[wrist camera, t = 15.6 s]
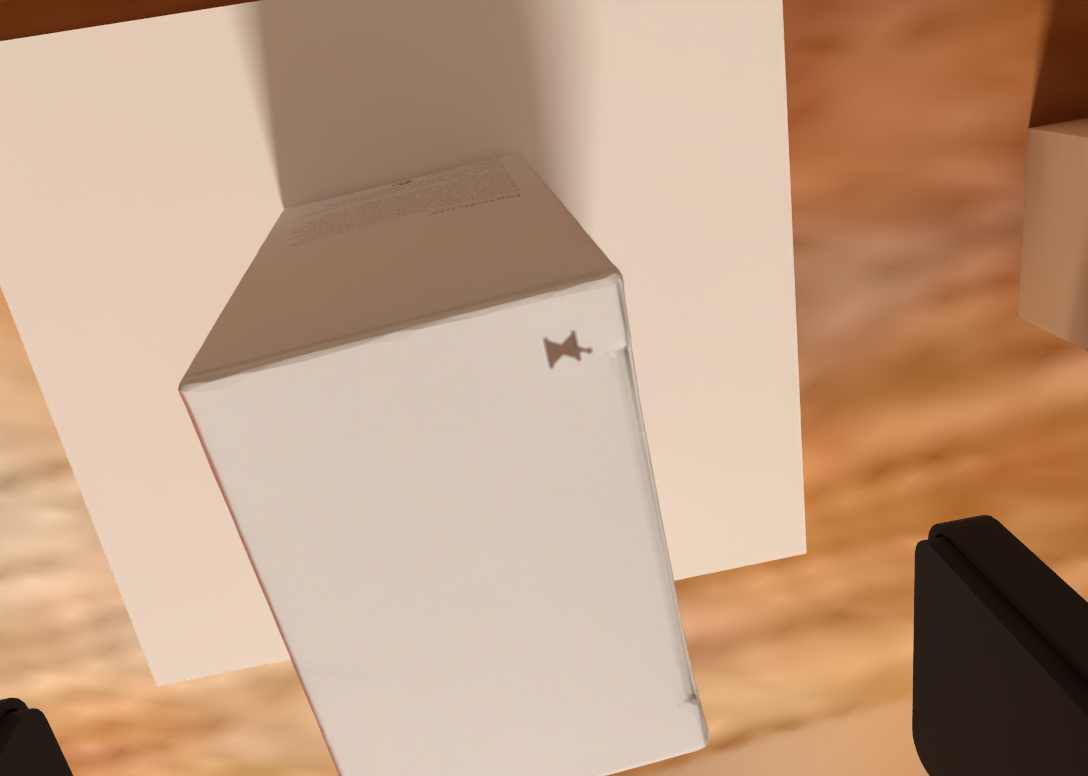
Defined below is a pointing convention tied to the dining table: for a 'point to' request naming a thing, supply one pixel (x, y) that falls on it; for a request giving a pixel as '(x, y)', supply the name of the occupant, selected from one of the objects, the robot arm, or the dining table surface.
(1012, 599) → the robot arm
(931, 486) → the dining table surface
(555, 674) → the small box
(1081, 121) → the birch block
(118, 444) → the mat
